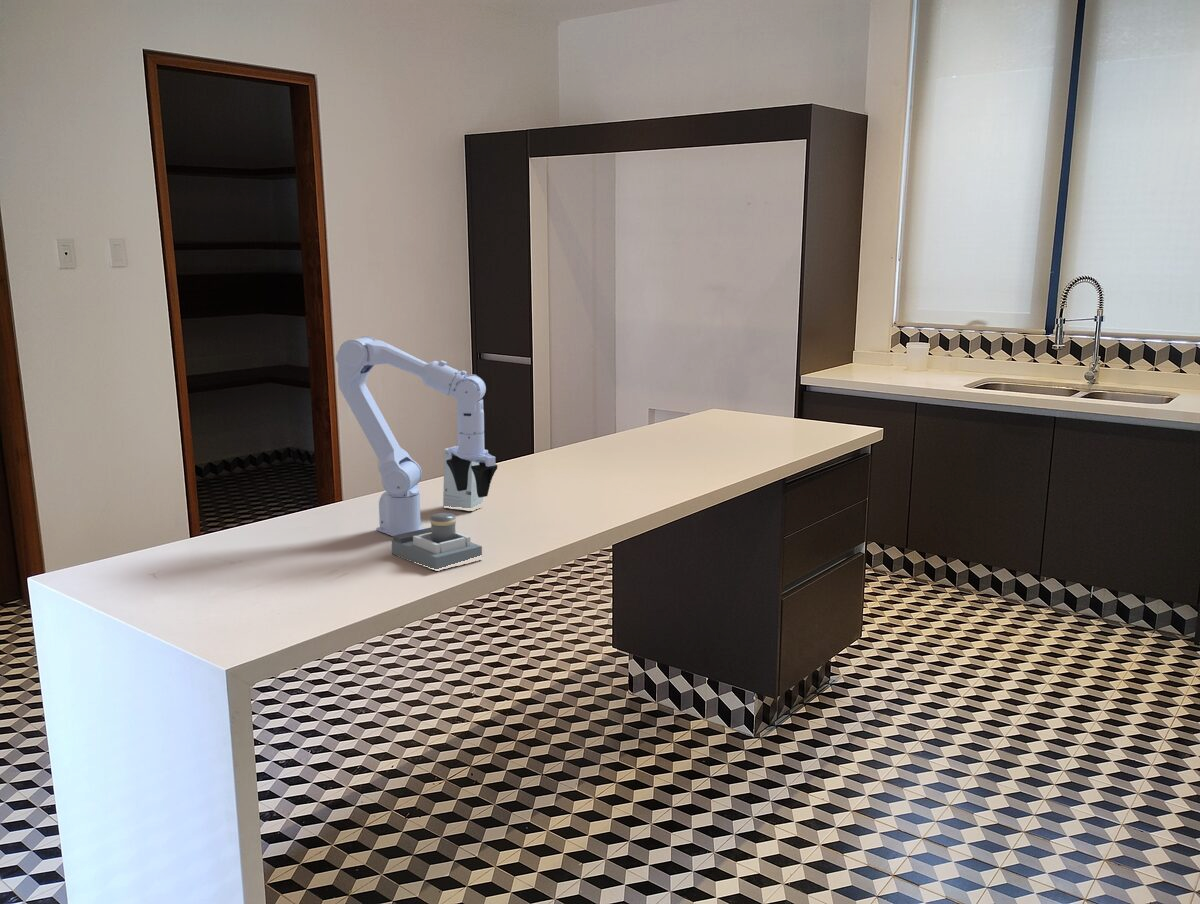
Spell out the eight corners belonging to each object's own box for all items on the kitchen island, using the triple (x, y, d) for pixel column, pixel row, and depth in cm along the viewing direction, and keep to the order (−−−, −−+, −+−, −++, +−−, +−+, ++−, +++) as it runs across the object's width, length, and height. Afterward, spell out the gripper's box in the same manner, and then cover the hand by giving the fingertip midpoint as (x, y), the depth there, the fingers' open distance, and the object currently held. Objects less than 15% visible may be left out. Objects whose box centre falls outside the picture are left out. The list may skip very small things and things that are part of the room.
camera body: (392, 554, 199) (391, 531, 198) (436, 543, 207) (436, 521, 206) (436, 572, 188) (435, 548, 187) (482, 560, 195) (481, 537, 194)
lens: (426, 544, 195) (425, 516, 194) (444, 539, 199) (444, 511, 198) (442, 549, 192) (441, 520, 191) (461, 544, 196) (460, 515, 195)
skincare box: (442, 509, 234) (441, 449, 231) (456, 503, 240) (455, 444, 237) (472, 513, 231) (471, 452, 228) (485, 507, 236) (484, 447, 233)
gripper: (506, 434, 206) (507, 496, 209) (466, 425, 216) (467, 484, 219) (479, 438, 201) (480, 501, 204) (439, 429, 212) (441, 489, 214)
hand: (472, 493), depth 211 cm, fingers open, 7 cm apart
